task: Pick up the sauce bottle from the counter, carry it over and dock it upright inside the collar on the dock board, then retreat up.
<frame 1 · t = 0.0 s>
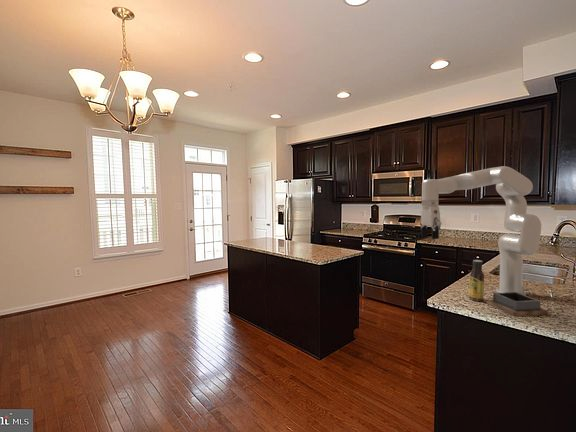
hand: (429, 237, 145), 31 cm above the countertop, tool pointing down, fingers open, 9 cm apart
sauce bottle: (476, 300, 143), on the countertop
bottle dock: (515, 308, 130), on the countertop
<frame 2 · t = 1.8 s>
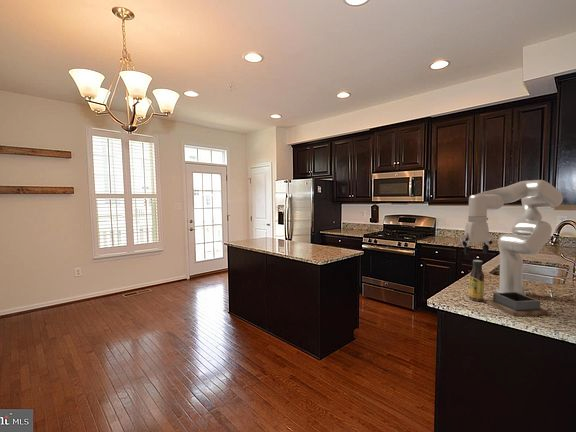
hand: (476, 254, 141), 23 cm above the countertop, tool pointing down, fingers open, 9 cm apart
nothing on the countertop moved.
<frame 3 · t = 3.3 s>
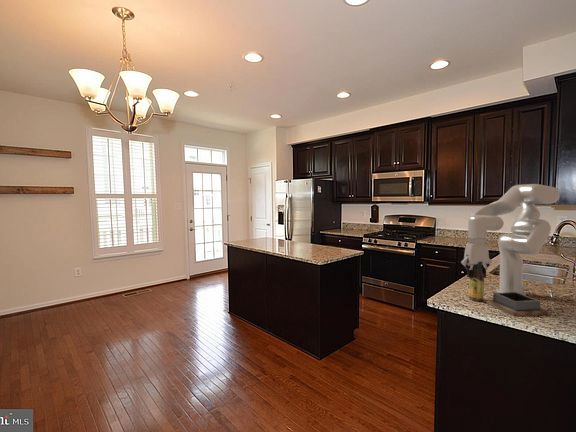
hand: (476, 276, 142), 12 cm above the countertop, tool pointing down, fingers closed on sauce bottle, 6 cm apart
sauce bottle: (476, 300, 143), on the countertop, touching gripper
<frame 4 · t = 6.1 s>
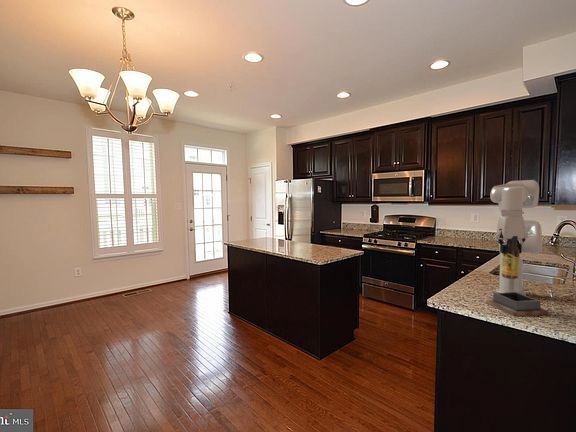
hand: (510, 252, 131), 25 cm above the countertop, tool pointing down, fingers closed on sauce bottle, 6 cm apart
sauce bottle: (509, 278, 131), point 14 cm above the countertop, touching gripper
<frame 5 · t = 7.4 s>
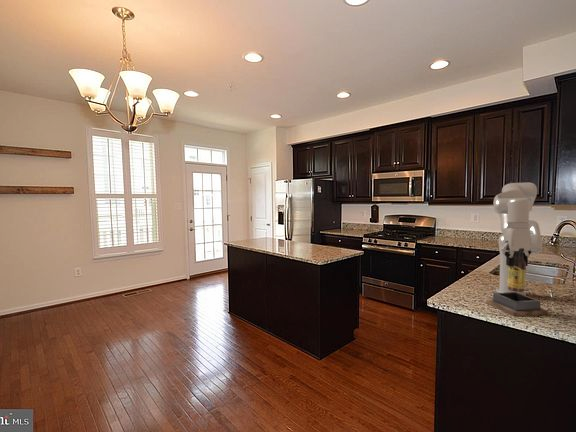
hand: (516, 265, 129), 20 cm above the countertop, tool pointing down, fingers closed on sauce bottle, 6 cm apart
sauce bottle: (516, 290, 130), point 8 cm above the countertop, touching gripper
when the fingers open (15 cm above the countertop, at t = 8.8 s): sauce bottle drops 2 cm, resting on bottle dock.
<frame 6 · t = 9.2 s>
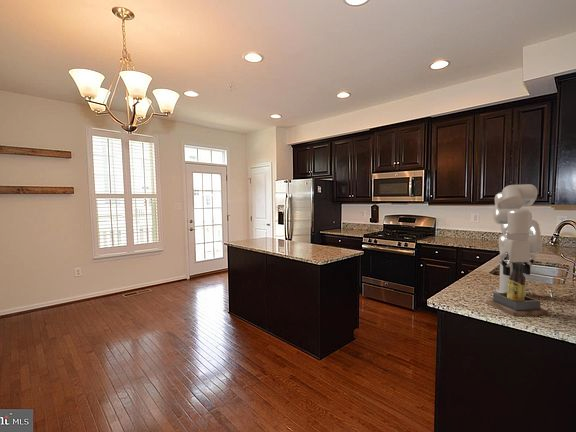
hand: (516, 274, 129), 16 cm above the countertop, tool pointing down, fingers open, 9 cm apart
sauce bottle: (515, 305, 130), point 1 cm above the countertop, touching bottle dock
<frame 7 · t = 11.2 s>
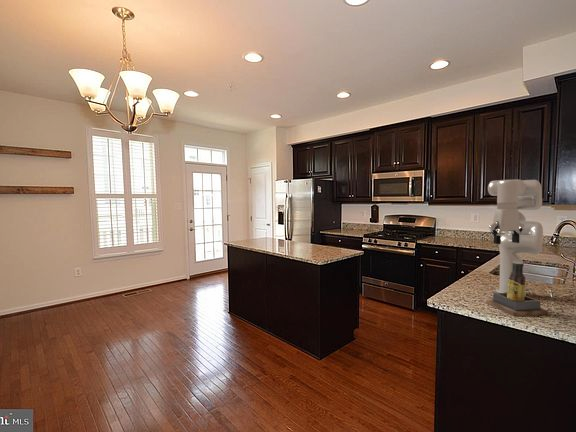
hand: (506, 243, 133), 29 cm above the countertop, tool pointing down, fingers open, 9 cm apart
nothing on the countertop moved.
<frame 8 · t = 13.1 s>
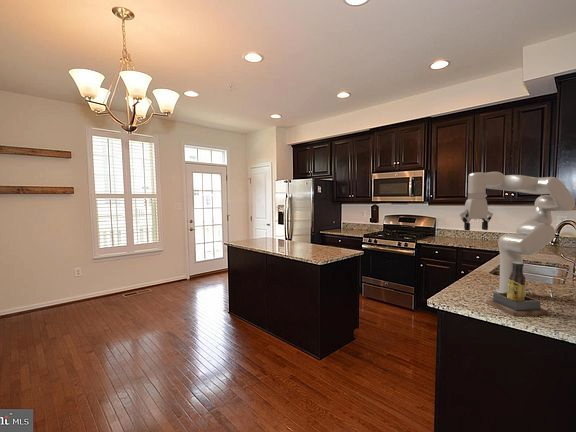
hand: (475, 230, 147), 34 cm above the countertop, tool pointing down, fingers open, 9 cm apart
nothing on the countertop moved.
at the end: sauce bottle 0.1 cm off-centre on the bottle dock, point 1.3 cm above the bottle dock's base; sauce bottle tilted 0°; the gripper is holding nothing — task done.
